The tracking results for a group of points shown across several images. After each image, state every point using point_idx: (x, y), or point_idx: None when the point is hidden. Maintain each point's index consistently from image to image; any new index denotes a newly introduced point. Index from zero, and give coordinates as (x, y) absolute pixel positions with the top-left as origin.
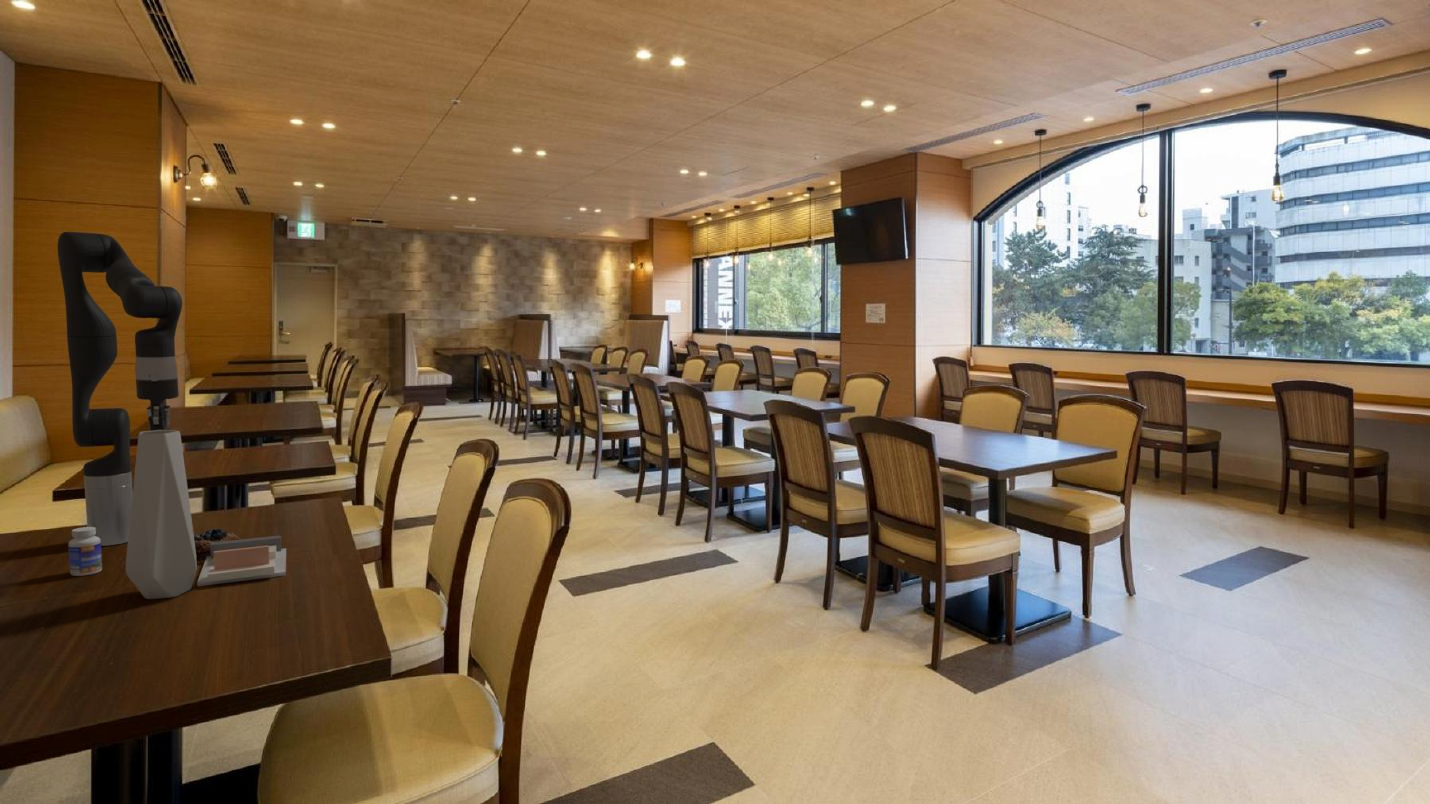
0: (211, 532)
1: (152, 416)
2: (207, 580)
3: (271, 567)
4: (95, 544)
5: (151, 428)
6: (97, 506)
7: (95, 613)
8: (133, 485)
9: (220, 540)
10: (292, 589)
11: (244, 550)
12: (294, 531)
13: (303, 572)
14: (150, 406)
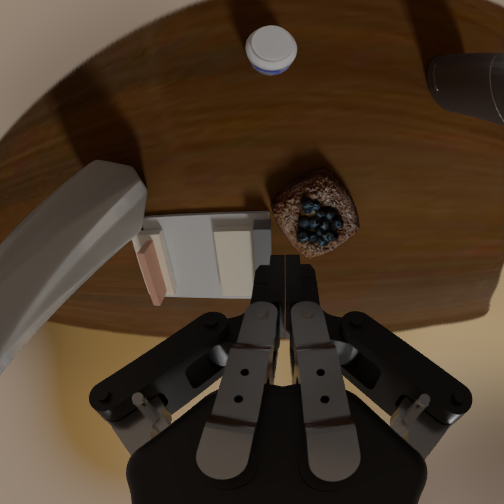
0: (322, 228)
1: (103, 416)
2: (146, 227)
3: (148, 291)
4: (256, 66)
5: (151, 353)
6: (467, 64)
7: (79, 136)
8: (6, 237)
9: (295, 237)
10: (120, 296)
11: (146, 283)
12: (373, 299)
13: (171, 306)
14: (135, 481)
